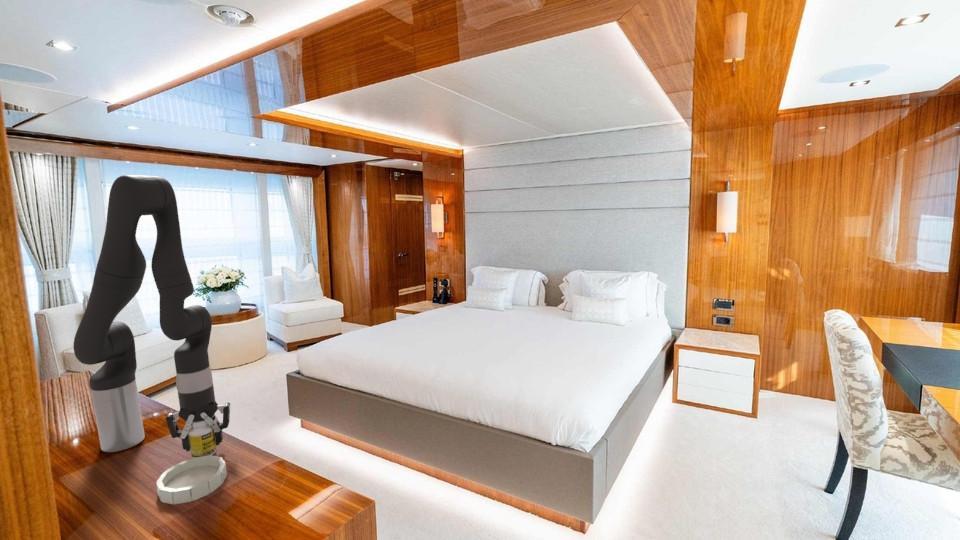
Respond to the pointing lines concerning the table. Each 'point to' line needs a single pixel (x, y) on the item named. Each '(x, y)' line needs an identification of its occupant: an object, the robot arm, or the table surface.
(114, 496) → the table surface
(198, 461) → the sage bowl
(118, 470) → the table surface
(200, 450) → the supplement bottle
